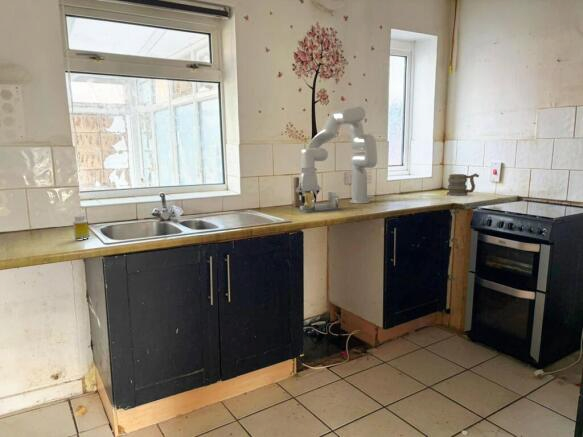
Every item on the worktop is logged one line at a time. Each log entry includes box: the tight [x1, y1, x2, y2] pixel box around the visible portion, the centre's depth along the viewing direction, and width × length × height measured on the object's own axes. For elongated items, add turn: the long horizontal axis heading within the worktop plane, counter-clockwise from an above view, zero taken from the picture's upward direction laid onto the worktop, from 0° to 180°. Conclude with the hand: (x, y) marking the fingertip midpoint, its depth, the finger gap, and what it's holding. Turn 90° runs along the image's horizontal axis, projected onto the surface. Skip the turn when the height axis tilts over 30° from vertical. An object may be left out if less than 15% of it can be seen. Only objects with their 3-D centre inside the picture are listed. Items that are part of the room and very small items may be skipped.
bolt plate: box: [296, 205, 342, 214], centre depth 252 cm, size 22×13×1 cm, turn 114°
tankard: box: [446, 173, 480, 197], centre depth 301 cm, size 20×13×15 cm, turn 55°
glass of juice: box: [72, 214, 90, 240], centre depth 186 cm, size 6×6×10 cm
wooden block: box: [292, 176, 312, 208], centre depth 267 cm, size 4×11×18 cm, turn 113°
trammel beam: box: [299, 191, 340, 209], centre depth 250 cm, size 21×9×8 cm, turn 114°
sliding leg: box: [304, 192, 316, 209], centre depth 247 cm, size 4×9×8 cm, turn 24°
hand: (308, 202), depth 250 cm, fingers open, 6 cm apart
